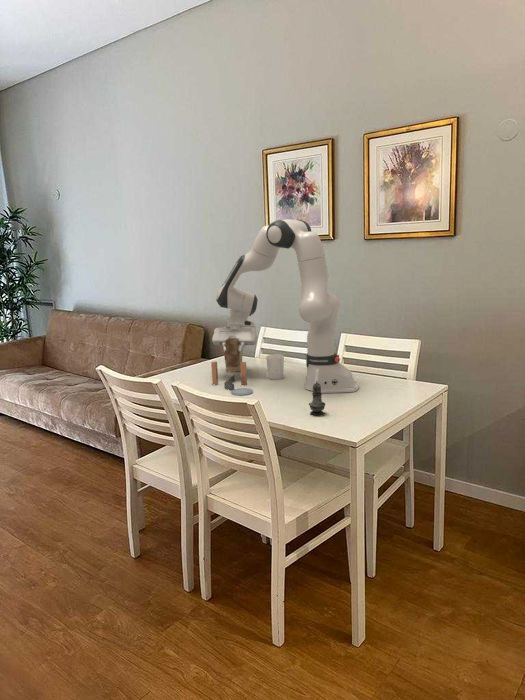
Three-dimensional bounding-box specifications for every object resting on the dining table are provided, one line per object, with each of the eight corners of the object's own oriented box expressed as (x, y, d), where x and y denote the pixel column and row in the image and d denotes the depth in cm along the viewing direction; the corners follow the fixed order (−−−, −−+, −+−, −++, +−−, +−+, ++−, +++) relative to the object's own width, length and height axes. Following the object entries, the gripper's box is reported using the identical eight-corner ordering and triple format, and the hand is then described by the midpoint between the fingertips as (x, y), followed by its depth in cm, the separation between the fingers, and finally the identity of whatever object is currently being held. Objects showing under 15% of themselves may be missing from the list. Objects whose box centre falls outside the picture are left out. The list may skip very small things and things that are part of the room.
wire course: (249, 381, 232) (248, 359, 230) (241, 390, 217) (240, 367, 215) (217, 380, 235) (215, 359, 233) (206, 390, 220) (205, 367, 218)
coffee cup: (225, 367, 258) (224, 344, 256) (244, 367, 258) (243, 343, 255) (223, 372, 249) (222, 348, 247) (243, 372, 249) (241, 347, 246)
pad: (255, 389, 218) (255, 388, 218) (250, 396, 209) (250, 394, 209) (234, 389, 220) (234, 387, 220) (228, 395, 211) (228, 394, 211)
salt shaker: (306, 414, 184) (305, 382, 182) (313, 410, 189) (313, 378, 187) (320, 417, 181) (320, 384, 179) (328, 412, 186) (328, 379, 184)
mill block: (239, 364, 235) (238, 335, 232) (237, 367, 230) (235, 337, 227) (229, 364, 236) (228, 335, 233) (226, 366, 231) (225, 337, 228)
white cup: (282, 380, 232) (282, 358, 230) (265, 379, 233) (264, 358, 231) (285, 375, 239) (285, 354, 237) (268, 375, 241) (268, 354, 239)
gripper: (213, 322, 238) (208, 348, 231) (257, 322, 234) (253, 348, 226) (216, 330, 243) (211, 355, 236) (259, 330, 239) (255, 356, 231)
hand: (232, 352), depth 231 cm, fingers closed on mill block, 5 cm apart
